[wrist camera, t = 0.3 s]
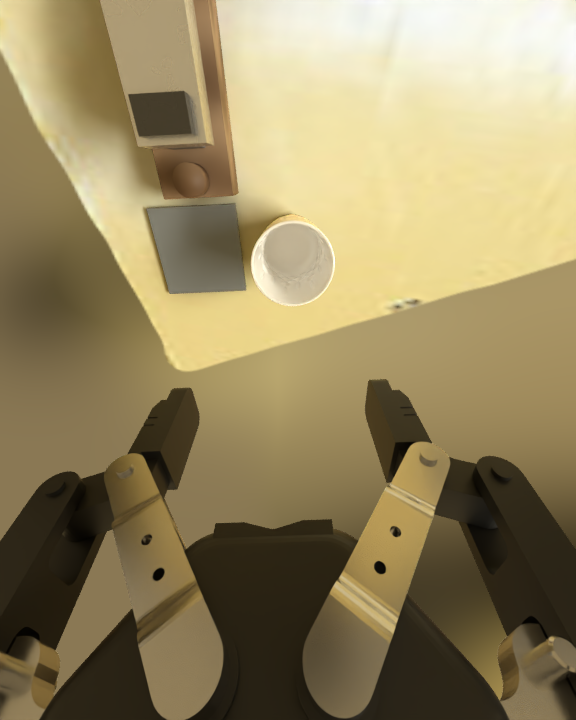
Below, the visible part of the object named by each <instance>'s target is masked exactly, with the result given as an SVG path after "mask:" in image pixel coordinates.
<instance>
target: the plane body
mask: <svg viewBox="0 0 576 720" xmlns="http://www.w3.org/2000/svg"><path fill="white" fill-rule="evenodd" d="M193 2H194V9H195V16H196V23H197V30H198V36H199V43H200V50H201V57H202V64H203V71H204V77H205V84H206V91H207V98H208V105H209V112H210V118H211V125H212V132H213V139H214V146H198V147H181V148H163V149H152V150H153V155H154V159H155V163H156V167H157V171H158V175H159V180H160V184H161V188H162V192H163V196H164V199H181V198H200V197H218V196H234V195H236V194H238V184H237V176H236V168H235V159H234V151H233V142H232V134H231V126H230V117H229V109H228V100H227V92H226V84H225V75H224V67H223V58H222V50H221V42H220V33H219V25H218V16H217V8H216V0H193Z"/></svg>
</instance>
